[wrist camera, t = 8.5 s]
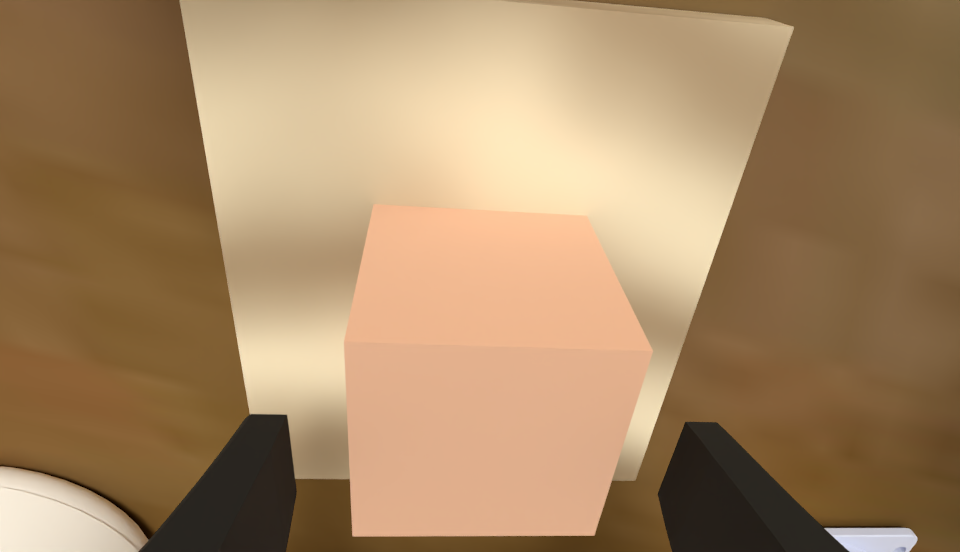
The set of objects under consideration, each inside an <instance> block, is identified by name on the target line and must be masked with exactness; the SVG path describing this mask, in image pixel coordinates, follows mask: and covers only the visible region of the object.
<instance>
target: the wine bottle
mask: <svg viewBox="0 0 960 552" xmlns="http://www.w3.org/2000/svg"><path fill="white" fill-rule="evenodd" d="M147 541H148V539H147V538H146V536H145V535H144V533H143V532H142V530H141V529H140V527H139V526H138V525H137V524H136V523H135V522H134V521H133V520H132V519H131V518H130V517H129V516H128V515H127V514H126V513H125V512H123V511H122V510H121V509H119V508H118V507H116V506H115V505H114V504H112V503H111V502H110V501H108V500H106V499H105V498H103V497H101V496H99V495H97V494H95V493H94V492H92V491H90V490H88V489H86V488H83V487H81V486H78V485H76V484H74V483H71V482H69V481H66V480H63V479H60V478H57V477H53V476H50V475H47V474H43V473H39V472H34V471H29V470H24V469H19V468H14V467H4V466H0V552H138V551H139V550H140V549H141V548H142V547H143V546H144V545H145V544H146V543H147Z"/></svg>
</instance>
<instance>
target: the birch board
mask: <svg viewBox="0 0 960 552" xmlns="http://www.w3.org/2000/svg"><path fill="white" fill-rule="evenodd" d="M180 6H181V12H182V18H183V24H184V30H185V36H186V41H187V47H188V53H189V59H190V65H191V71H192V77H193V82H194V88H195V94H196V100H197V106H198V112H199V118H200V124H201V129H202V135H203V141H204V147H205V153H206V159H207V165H208V171H209V176H210V182H211V188H212V194H213V200H214V206H215V212H216V217H217V223H218V229H219V235H220V241H221V247H222V253H223V259H224V264H225V270H226V276H227V282H228V288H229V294H230V300H231V306H232V311H233V317H234V323H235V329H236V335H237V341H238V347H239V352H240V358H241V364H242V370H243V376H244V382H245V388H246V394H247V399H248V405H249V411H250V414H282V415H287V417H288V425H289V433H290V441H291V449H292V458H293V466H294V474H295V479H350V469H349V446H348V424H347V402H346V379H345V357H344V339H345V334H346V329H347V325H348V320H349V316H350V311H351V306H352V302H353V297H354V292H355V288H356V283H357V278H358V274H359V269H360V265H361V260H362V255H363V251H364V246H365V241H366V237H367V232H368V227H369V223H370V218H371V213H372V209H373V204H380V205H398V206H417V207H435V208H454V209H472V210H491V211H509V212H528V213H546V214H565V215H583V216H587V217H588V219H589V222H590V224H591V226H592V228H593V230H594V232H595V234H596V236H597V238H598V240H599V242H600V244H601V246H602V248H603V250H604V252H605V254H606V256H607V258H608V260H609V262H610V264H611V266H612V268H613V270H614V272H615V274H616V277H617V279H618V281H619V283H620V285H621V287H622V289H623V291H624V293H625V295H626V297H627V299H628V301H629V303H630V305H631V307H632V309H633V311H634V313H635V315H636V317H637V319H638V321H639V323H640V325H641V327H642V329H643V332H644V334H645V336H646V338H647V340H648V342H649V344H650V346H651V348H652V350H653V353H652V356H651V359H650V363H649V366H648V369H647V372H646V375H645V378H644V381H643V384H642V388H641V391H640V394H639V397H638V400H637V403H636V406H635V410H634V413H633V416H632V419H631V422H630V425H629V428H628V431H627V435H626V438H625V441H624V444H623V447H622V450H621V453H620V456H619V460H618V463H617V466H616V469H615V472H614V475H613V478H612V481H635V480H636V477H637V474H638V471H639V469H640V466H641V463H642V460H643V457H644V454H645V451H646V449H647V446H648V443H649V440H650V437H651V434H652V431H653V429H654V426H655V423H656V420H657V417H658V414H659V411H660V409H661V406H662V403H663V400H664V397H665V394H666V391H667V389H668V386H669V383H670V380H671V377H672V374H673V371H674V369H675V366H676V363H677V360H678V357H679V354H680V351H681V349H682V346H683V343H684V340H685V337H686V334H687V331H688V329H689V326H690V323H691V320H692V317H693V314H694V311H695V309H696V306H697V303H698V300H699V297H700V294H701V291H702V289H703V286H704V283H705V280H706V277H707V274H708V271H709V269H710V266H711V263H712V260H713V257H714V254H715V251H716V249H717V246H718V243H719V240H720V237H721V234H722V231H723V229H724V226H725V223H726V220H727V217H728V214H729V211H730V209H731V206H732V203H733V200H734V197H735V194H736V191H737V189H738V186H739V183H740V180H741V177H742V174H743V171H744V169H745V166H746V163H747V160H748V157H749V154H750V151H751V149H752V146H753V143H754V140H755V137H756V134H757V131H758V129H759V126H760V123H761V120H762V117H763V114H764V111H765V109H766V106H767V103H768V100H769V97H770V94H771V91H772V89H773V86H774V83H775V80H776V77H777V74H778V71H779V69H780V66H781V63H782V60H783V57H784V54H785V51H786V49H787V46H788V43H789V40H790V37H791V34H792V31H793V29H794V27H792V26H789V25H786V24H783V23H780V22H777V21H773V20H770V19H767V18H761V17H750V16H739V15H728V14H717V13H706V12H695V11H684V10H673V9H662V8H651V7H640V6H629V5H618V4H607V3H596V2H585V1H574V0H180Z"/></svg>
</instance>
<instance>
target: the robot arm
mask: <svg viewBox="0 0 960 552" xmlns="http://www.w3.org/2000/svg"><path fill="white" fill-rule="evenodd" d="M296 492H297V491H296V482H295V474H294V466H293V458H292V449H291V441H290V433H289V425H288V417H287V415H282V414H250V415H249V416H248V417H247V418H245V420H244V421H243V422H242V424H241V425H240V427H239V428H238V429H237V431H236V432H235V434H234V435H233V436H232V438H231V439H230V440H229V442H228V443H227V444H226V446H225V447H224V448H223V450H222V451H221V452H220V454H219V455H218V456H217V458H216V459H215V460H214V462H213V463H212V464H211V465H210V467H209V468H208V469H207V471H206V472H205V473H204V474H203V476H202V477H201V478H200V479H199V481H198V482H197V483H196V485H195V486H194V487H193V488H192V489H191V491H190V492H189V493H188V494H187V495H186V497H185V498H184V499H183V500H182V501H181V503H180V504H179V505H178V506H177V508H176V509H175V510H174V511H173V512H172V514H171V515H170V516H169V517H168V518H167V520H166V521H165V522H164V523H163V524H162V526H161V527H160V528H159V529H158V530H157V531H156V532H155V534H154V535H153V536H152V537H151V538H150V539H149V540H148V541H147V543H146V544H145V545H144V546H143V547H142V548H141V549H140V550H139V551H138V552H286V547H287V542H288V537H289V532H290V526H291V521H292V515H293V510H294V504H295V498H296ZM658 497H659V501H660V505H661V509H662V514H663V518H664V522H665V526H666V530H667V534H668V538H669V541H670V545H671V549H672V552H909V551H910V550H911V549H912V547H913V546H914V545H915V544H916V542H917V536H916V535H915V534H914V532H913V531H912V530H911V529H909V528H823V527H822V526H821V525H820V524H819V523H818V522H817V521H816V520H815V519H814V518H813V517H812V516H811V515H810V514H809V513H808V512H807V511H806V510H805V509H804V508H803V507H802V506H800V505H799V504H798V503H797V502H796V501H795V500H794V499H793V498H792V497H791V496H790V495H789V494H788V493H787V492H786V491H785V490H784V489H783V488H782V487H781V486H780V485H779V484H778V483H777V482H776V481H775V480H774V479H773V478H772V477H771V476H770V475H769V474H768V473H767V472H766V471H765V470H764V469H763V468H762V467H761V466H760V465H759V464H758V463H757V462H756V461H755V460H754V459H753V458H752V457H751V456H750V455H749V454H748V453H747V452H746V451H745V450H744V449H743V448H742V447H741V446H740V445H739V444H738V443H737V442H736V441H735V440H734V439H733V438H732V437H731V436H730V435H729V434H728V433H727V432H726V431H725V430H724V429H723V428H722V427H721V426H720V425H719V424H718V423H715V422H685V425H684V427H683V430H682V432H681V435H680V438H679V440H678V443H677V445H676V448H675V451H674V453H673V456H672V458H671V461H670V464H669V466H668V469H667V471H666V474H665V476H664V479H663V482H662V484H661V487H660V489H659V492H658Z"/></svg>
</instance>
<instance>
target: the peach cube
mask: <svg viewBox="0 0 960 552" xmlns="http://www.w3.org/2000/svg"><path fill="white" fill-rule="evenodd" d="M652 353H653V350H652V348H651V346H650V344H649V342H648V340H647V338H646V336H645V334H644V332H643V329H642V327H641V325H640V323H639V321H638V319H637V317H636V315H635V313H634V311H633V309H632V307H631V305H630V303H629V301H628V299H627V297H626V295H625V293H624V291H623V289H622V287H621V285H620V283H619V281H618V279H617V277H616V274H615V272H614V270H613V268H612V266H611V264H610V262H609V260H608V258H607V256H606V254H605V252H604V250H603V248H602V246H601V244H600V242H599V240H598V238H597V236H596V234H595V232H594V230H593V228H592V226H591V224H590V222H589V219H588V217H587V216H583V215H565V214H546V213H528V212H509V211H491V210H472V209H454V208H435V207H417V206H398V205H380V204H373V209H372V213H371V218H370V223H369V227H368V232H367V237H366V241H365V246H364V251H363V255H362V260H361V265H360V269H359V274H358V278H357V283H356V288H355V292H354V297H353V302H352V306H351V311H350V316H349V320H348V325H347V329H346V334H345V339H344V357H345V379H346V402H347V424H348V446H349V469H350V491H351V514H352V536H594V535H595V532H596V528H597V525H598V522H599V519H600V516H601V513H602V510H603V507H604V503H605V500H606V497H607V494H608V491H609V488H610V485H611V481H612V478H613V475H614V472H615V469H616V466H617V463H618V460H619V456H620V453H621V450H622V447H623V444H624V441H625V438H626V435H627V431H628V428H629V425H630V422H631V419H632V416H633V413H634V410H635V406H636V403H637V400H638V397H639V394H640V391H641V388H642V384H643V381H644V378H645V375H646V372H647V369H648V366H649V363H650V359H651V356H652Z"/></svg>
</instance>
